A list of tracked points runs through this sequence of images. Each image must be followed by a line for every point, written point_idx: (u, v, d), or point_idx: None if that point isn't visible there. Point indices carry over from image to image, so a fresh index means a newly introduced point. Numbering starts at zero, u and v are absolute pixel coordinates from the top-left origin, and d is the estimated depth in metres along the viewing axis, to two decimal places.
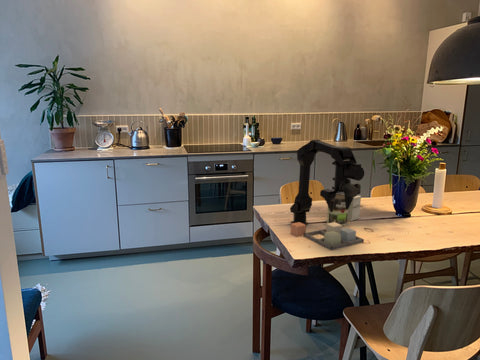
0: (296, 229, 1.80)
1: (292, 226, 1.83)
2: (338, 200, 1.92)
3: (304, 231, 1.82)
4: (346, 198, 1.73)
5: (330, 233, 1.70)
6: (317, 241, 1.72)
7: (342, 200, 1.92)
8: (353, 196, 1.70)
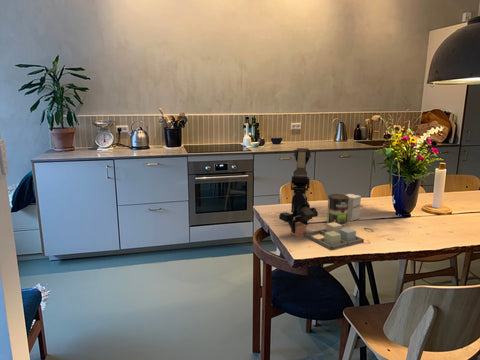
0: (296, 229, 1.80)
1: None
2: (338, 200, 1.92)
3: (304, 231, 1.82)
4: (302, 221, 1.85)
5: (330, 233, 1.70)
6: (317, 241, 1.72)
7: (342, 200, 1.92)
8: (307, 219, 1.81)
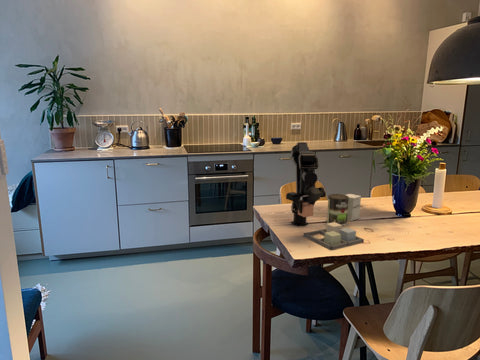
0: (303, 209, 1.76)
1: None
2: (338, 200, 1.92)
3: (311, 211, 1.78)
4: (309, 201, 1.81)
5: (330, 233, 1.70)
6: (317, 241, 1.72)
7: (342, 200, 1.92)
8: (315, 199, 1.77)
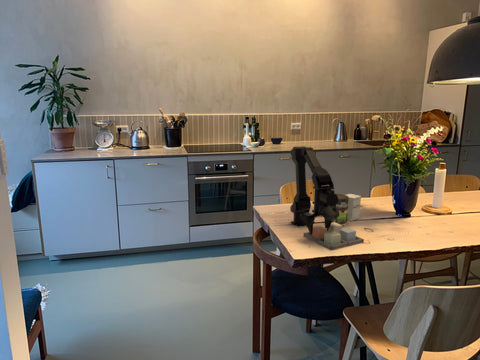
0: (317, 233, 1.75)
1: (313, 230, 1.78)
2: (338, 200, 1.92)
3: None
4: (326, 220, 1.81)
5: (330, 233, 1.70)
6: (317, 241, 1.72)
7: (342, 200, 1.92)
8: None
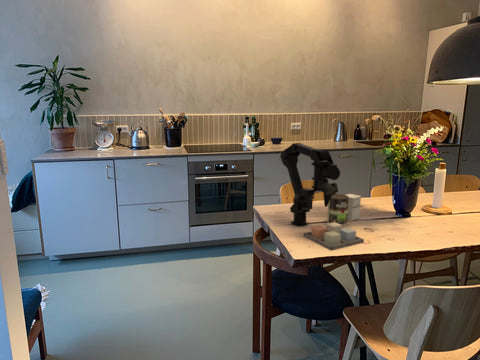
0: (317, 233, 1.75)
1: (313, 230, 1.78)
2: (338, 200, 1.92)
3: None
4: (325, 196, 1.86)
5: (330, 233, 1.70)
6: (317, 241, 1.72)
7: (342, 200, 1.92)
8: (331, 194, 1.83)
